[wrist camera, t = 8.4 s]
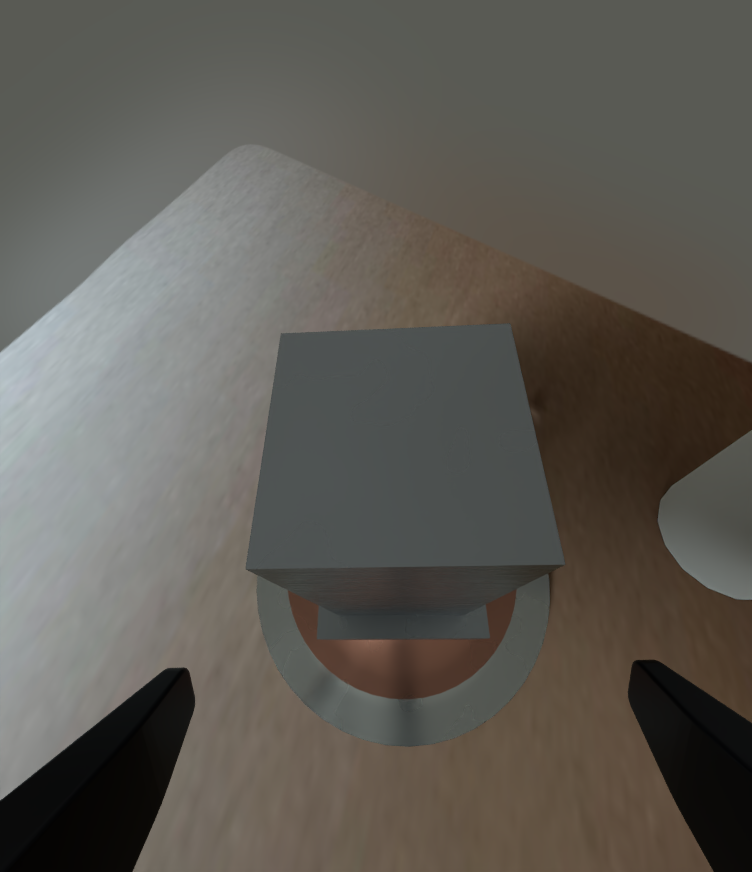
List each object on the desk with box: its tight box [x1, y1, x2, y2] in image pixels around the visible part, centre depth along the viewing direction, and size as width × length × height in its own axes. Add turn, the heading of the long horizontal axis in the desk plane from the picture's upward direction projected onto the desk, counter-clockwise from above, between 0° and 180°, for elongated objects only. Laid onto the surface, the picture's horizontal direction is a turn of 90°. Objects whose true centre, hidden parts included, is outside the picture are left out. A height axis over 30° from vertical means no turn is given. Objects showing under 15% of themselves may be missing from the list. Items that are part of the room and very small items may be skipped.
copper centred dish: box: [257, 574, 550, 746], centre depth 18 cm, size 13×13×1 cm
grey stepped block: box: [246, 324, 565, 640], centre depth 12 cm, size 6×6×12 cm
